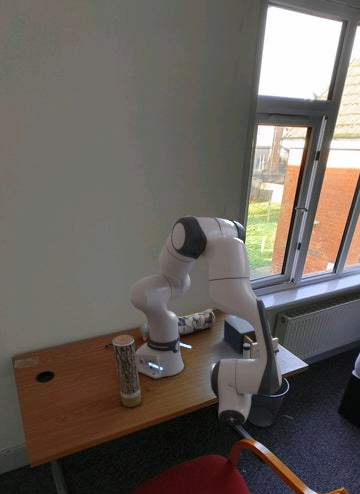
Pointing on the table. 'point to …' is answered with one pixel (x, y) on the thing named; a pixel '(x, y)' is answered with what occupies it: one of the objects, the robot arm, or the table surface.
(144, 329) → the dog figurine
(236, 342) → the cabinet
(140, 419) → the table surface
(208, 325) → the pencil case
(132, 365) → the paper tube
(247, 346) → the marker
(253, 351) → the drawer
